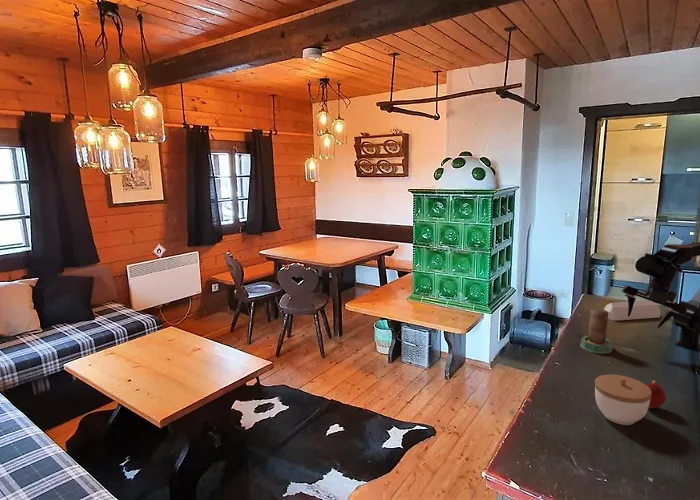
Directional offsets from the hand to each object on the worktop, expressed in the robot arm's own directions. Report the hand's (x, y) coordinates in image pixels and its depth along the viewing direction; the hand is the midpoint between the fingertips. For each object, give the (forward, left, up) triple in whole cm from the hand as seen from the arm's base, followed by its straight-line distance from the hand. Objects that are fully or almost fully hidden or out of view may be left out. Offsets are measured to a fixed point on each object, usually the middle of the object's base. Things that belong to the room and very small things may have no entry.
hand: (643, 322), depth 153 cm
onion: (+37, +15, -11) cm, 42 cm away
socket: (+8, -11, -11) cm, 18 cm away
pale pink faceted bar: (-34, -14, -11) cm, 39 cm away
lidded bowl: (+48, +11, -11) cm, 51 cm away
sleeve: (+8, -11, -10) cm, 17 cm away
